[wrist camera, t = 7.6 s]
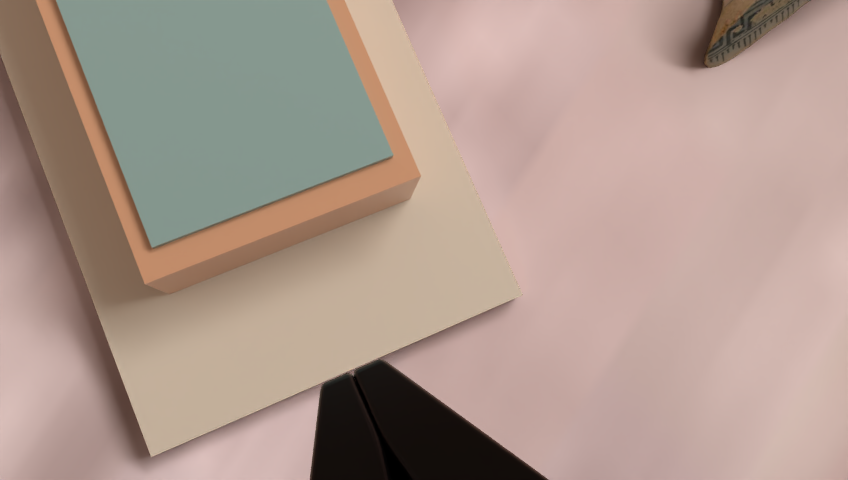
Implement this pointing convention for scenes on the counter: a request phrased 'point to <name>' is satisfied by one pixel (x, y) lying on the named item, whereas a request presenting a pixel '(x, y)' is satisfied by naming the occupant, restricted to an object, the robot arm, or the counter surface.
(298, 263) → the mat
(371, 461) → the robot arm
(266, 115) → the block
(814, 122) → the counter surface
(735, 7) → the ceramic fragment
